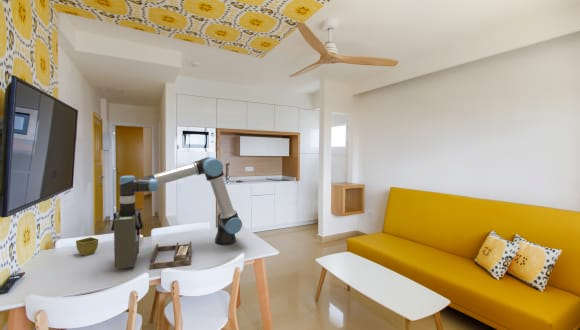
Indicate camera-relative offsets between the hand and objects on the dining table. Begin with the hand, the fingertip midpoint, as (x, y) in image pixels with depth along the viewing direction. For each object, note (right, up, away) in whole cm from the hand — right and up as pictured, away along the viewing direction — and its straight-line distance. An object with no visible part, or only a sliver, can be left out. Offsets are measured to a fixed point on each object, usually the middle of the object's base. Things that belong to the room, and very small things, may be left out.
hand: (127, 241), depth 155 cm
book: (0, -12, 0) cm, 12 cm away
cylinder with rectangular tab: (-13, -12, +31) cm, 36 cm away
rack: (+22, -13, +8) cm, 27 cm away
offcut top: (+28, -10, +10) cm, 31 cm away
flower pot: (-33, -12, +13) cm, 38 cm away
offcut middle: (+28, -12, +10) cm, 32 cm away
